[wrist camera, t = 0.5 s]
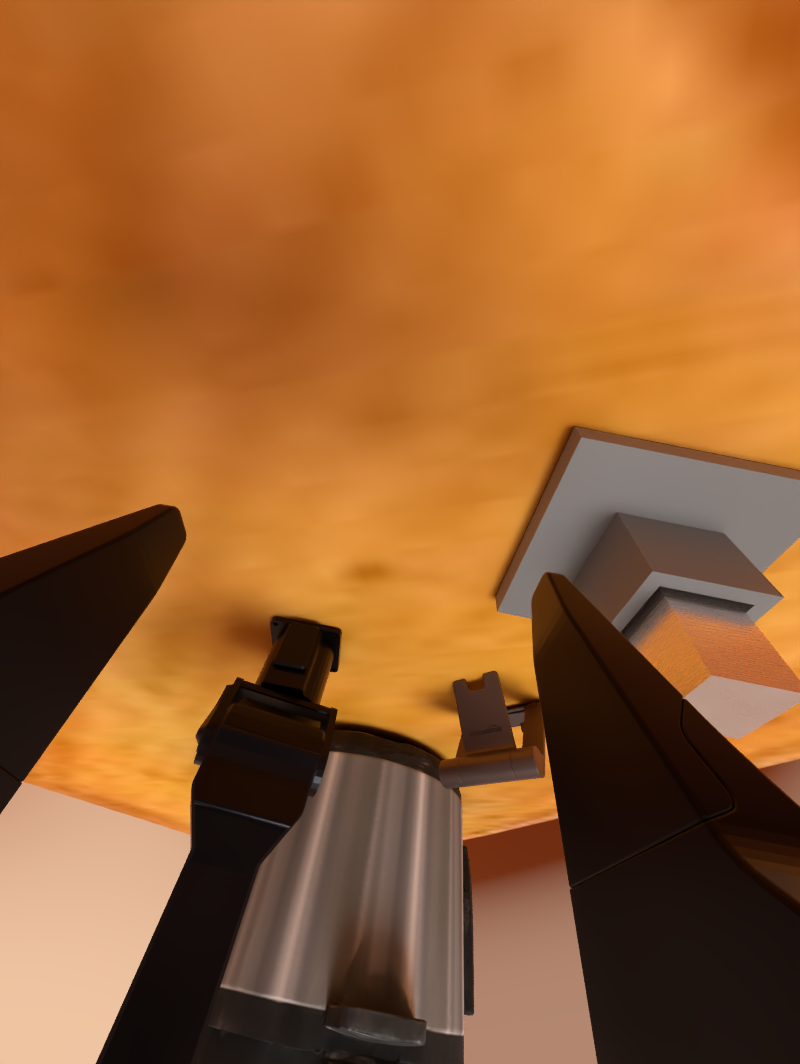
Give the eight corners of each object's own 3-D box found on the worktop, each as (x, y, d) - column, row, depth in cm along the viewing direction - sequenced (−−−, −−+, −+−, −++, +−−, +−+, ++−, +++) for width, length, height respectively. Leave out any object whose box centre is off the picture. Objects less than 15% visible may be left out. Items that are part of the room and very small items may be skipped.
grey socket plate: (672, 632, 29) (718, 715, 24) (495, 596, 29) (503, 671, 24) (826, 475, 20) (951, 552, 15) (574, 426, 20) (613, 485, 15)
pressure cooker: (344, 810, 65) (272, 1161, 40) (224, 736, 52) (6, 1187, 27) (508, 799, 53) (553, 1293, 28) (405, 698, 40) (315, 1457, 15)
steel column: (654, 591, 25) (739, 739, 17) (593, 579, 25) (652, 722, 17) (694, 545, 22) (813, 695, 15) (626, 531, 22) (711, 674, 15)
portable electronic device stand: (471, 721, 41) (474, 811, 35) (433, 685, 38) (428, 778, 31) (549, 706, 37) (569, 804, 31) (515, 664, 34) (529, 764, 27)
